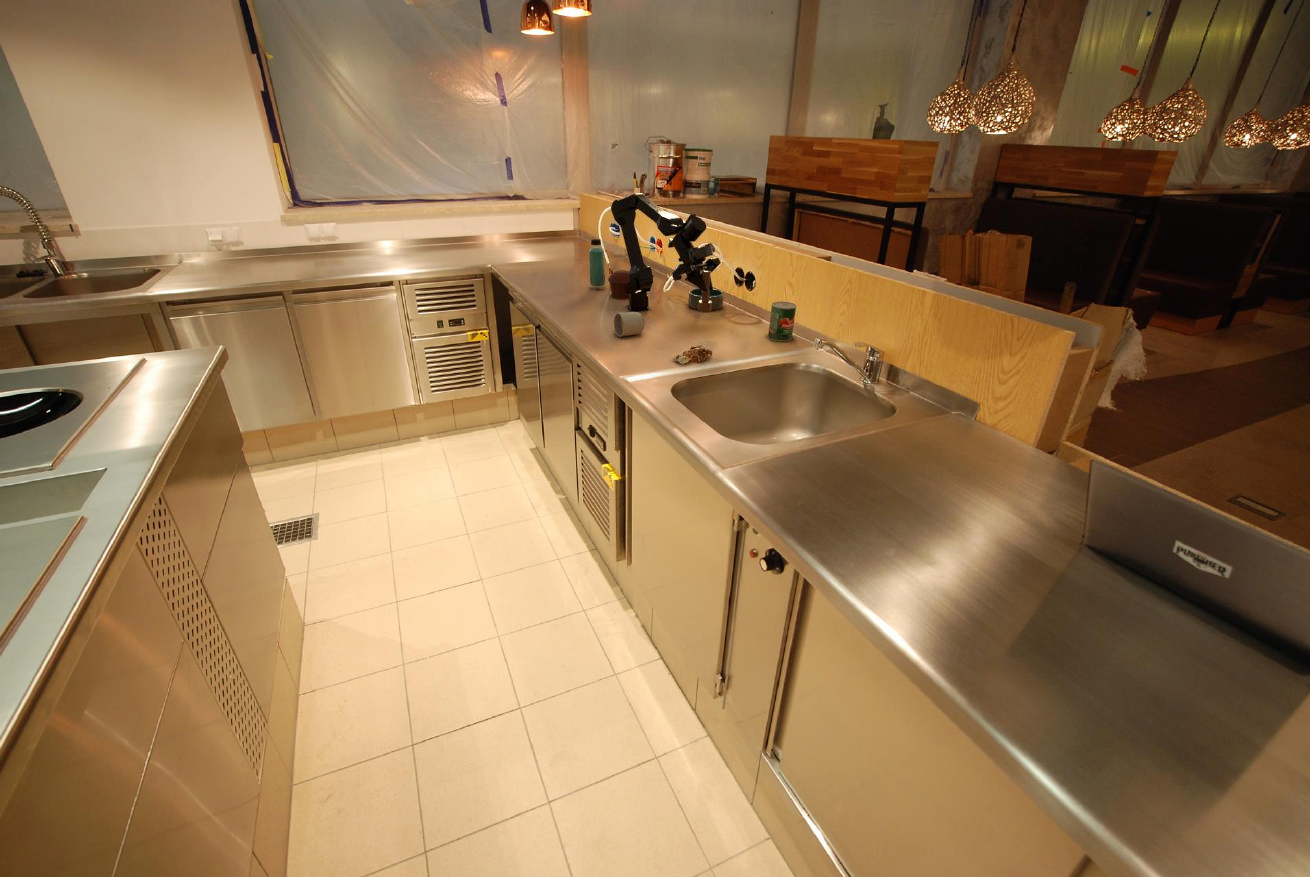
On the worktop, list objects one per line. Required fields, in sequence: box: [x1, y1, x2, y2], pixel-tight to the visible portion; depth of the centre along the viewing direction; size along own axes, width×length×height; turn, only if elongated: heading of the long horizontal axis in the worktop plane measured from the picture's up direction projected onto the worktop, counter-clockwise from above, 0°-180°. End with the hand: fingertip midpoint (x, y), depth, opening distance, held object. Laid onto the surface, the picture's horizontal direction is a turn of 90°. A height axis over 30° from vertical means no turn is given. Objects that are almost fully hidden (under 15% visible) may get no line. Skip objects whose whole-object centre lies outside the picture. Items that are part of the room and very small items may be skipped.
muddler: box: [697, 271, 712, 313], centre depth 190 cm, size 4×4×13 cm
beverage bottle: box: [588, 238, 606, 287], centre depth 239 cm, size 6×7×20 cm
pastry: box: [674, 344, 713, 365], centre depth 170 cm, size 7×12×4 cm, turn 134°
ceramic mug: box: [613, 311, 645, 338], centre depth 189 cm, size 11×8×8 cm
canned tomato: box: [767, 301, 797, 342], centre depth 187 cm, size 8×8×11 cm
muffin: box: [607, 269, 630, 300], centre depth 230 cm, size 12×11×10 cm
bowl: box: [687, 287, 725, 312], centre depth 220 cm, size 13×13×6 cm
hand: (708, 290), depth 189 cm, fingers closed on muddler, 2 cm apart
